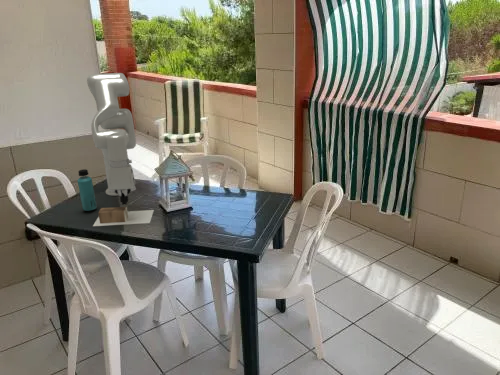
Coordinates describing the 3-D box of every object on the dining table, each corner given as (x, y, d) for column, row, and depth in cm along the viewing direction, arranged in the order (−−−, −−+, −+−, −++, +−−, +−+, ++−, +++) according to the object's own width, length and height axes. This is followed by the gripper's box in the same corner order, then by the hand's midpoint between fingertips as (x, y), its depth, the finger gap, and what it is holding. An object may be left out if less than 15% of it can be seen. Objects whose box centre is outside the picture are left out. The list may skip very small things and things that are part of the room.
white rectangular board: (101, 213, 186) (100, 212, 186) (154, 210, 188) (153, 209, 187) (92, 227, 173) (92, 226, 172) (149, 223, 174) (149, 222, 174)
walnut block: (128, 217, 181) (102, 218, 180) (126, 206, 179) (101, 208, 178) (125, 221, 176) (100, 223, 175) (124, 211, 174) (98, 212, 173)
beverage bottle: (92, 214, 185) (85, 172, 178) (79, 213, 187) (72, 172, 180) (100, 208, 191) (93, 168, 184) (87, 207, 193) (80, 167, 186)
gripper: (138, 159, 173) (143, 199, 180) (103, 161, 172) (109, 201, 178) (135, 164, 166) (141, 205, 173) (98, 166, 165) (105, 207, 171)
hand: (124, 203), depth 176 cm, fingers closed
